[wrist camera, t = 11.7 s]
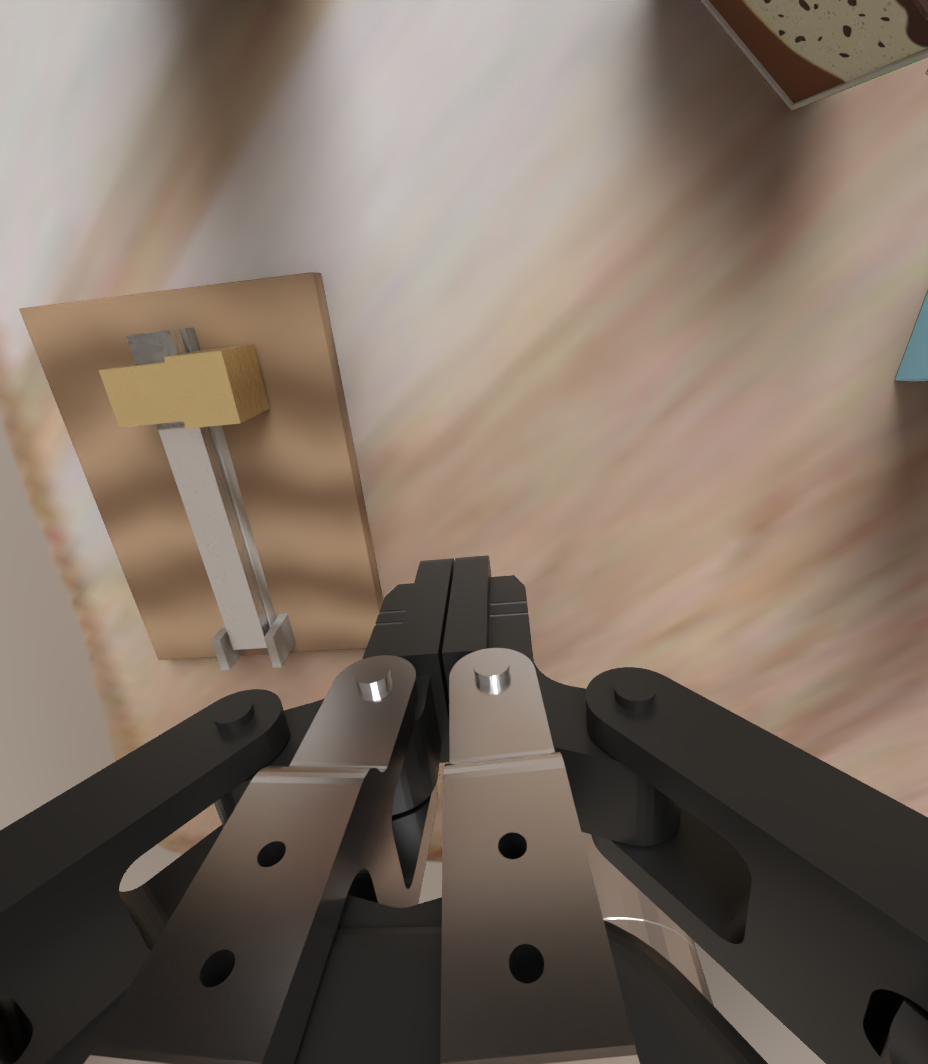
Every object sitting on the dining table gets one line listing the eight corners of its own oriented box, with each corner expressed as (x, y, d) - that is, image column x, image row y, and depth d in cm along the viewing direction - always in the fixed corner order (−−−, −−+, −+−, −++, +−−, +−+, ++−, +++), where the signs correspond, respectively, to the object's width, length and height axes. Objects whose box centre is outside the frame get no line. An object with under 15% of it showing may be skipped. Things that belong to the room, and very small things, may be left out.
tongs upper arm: (273, 638, 37) (267, 647, 36) (239, 640, 38) (233, 649, 37) (179, 329, 29) (169, 330, 28) (137, 333, 29) (126, 335, 29)
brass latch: (269, 408, 32) (240, 423, 28) (156, 419, 33) (114, 436, 29) (253, 343, 31) (221, 350, 27) (136, 357, 31) (88, 365, 28)
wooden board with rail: (389, 634, 40) (378, 671, 36) (169, 647, 42) (135, 685, 38) (320, 273, 31) (295, 270, 27) (39, 307, 32) (-25, 310, 28)
